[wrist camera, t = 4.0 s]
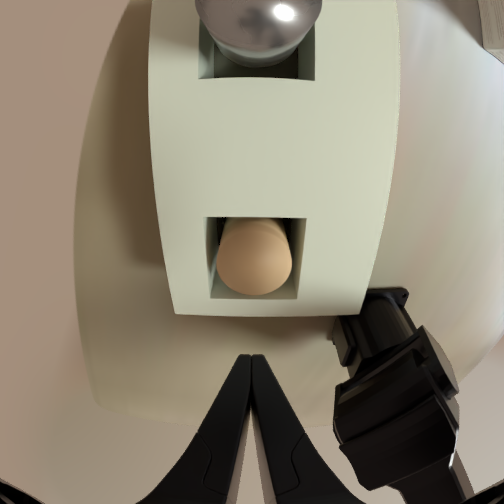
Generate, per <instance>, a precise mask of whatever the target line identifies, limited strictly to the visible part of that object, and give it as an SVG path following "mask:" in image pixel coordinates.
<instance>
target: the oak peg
mask: <svg viewBox="0 0 504 504" xmlns="http://www.w3.org/2000/svg"><path fill="white" fill-rule="evenodd" d="M216 266H217V271H218V274H219V276H220V278H221V279H222V281H223V282H224V283H225V284H226V285H227V286H228V287H229V288H231V289H232V290H234V291H236V292H239V293H242V294H246V295H262V294H267V293H269V292H272V291H274V290H276V289H277V288H279V287H280V286H281V285H282V284H283V283H284V282H285V281H286V280H287V278H288V276H289V274H290V272H291V268H292V259H291V254H290V250H289V245H288V241H287V237H286V233H285V228H284V224H283V221H282V218H280V217H227V218H226V221H225V225H224V229H223V233H222V238H221V242H220V246H219V250H218V255H217V260H216Z"/></svg>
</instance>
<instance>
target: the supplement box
mask: <svg viewBox="0 0 504 504" xmlns="http://www.w3.org/2000/svg"><path fill="white" fill-rule="evenodd" d="M478 5H479V11H480V18H481V27H482V37H483V47H484V49H485V50H486V51H488V52H489V53H491V54H492V55H494V56H495V57H496V58H498V59H499V60H500V61H501V62H502V63H504V0H478Z"/></svg>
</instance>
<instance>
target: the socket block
mask: <svg viewBox="0 0 504 504" xmlns="http://www.w3.org/2000/svg"><path fill="white" fill-rule="evenodd" d="M148 99H149V127H150V144H151V158H152V170H153V180H154V189H155V198H156V207H157V214H158V222H159V229H160V235H161V242H162V248H163V254H164V260H165V266H166V271H167V277H168V282H169V287H170V292H171V297H172V302H173V306H174V311H175V314H186V315H208V316H244V317H295V316H330V315H352V314H359V313H360V310H361V307H362V303H363V300H364V297H365V294H366V290H367V287H368V284H369V280H370V277H371V273H372V269H373V266H374V262H375V258H376V254H377V250H378V246H379V241H380V237H381V233H382V228H383V224H384V219H385V214H386V209H387V203H388V198H389V192H390V186H391V180H392V173H393V166H394V159H395V150H396V141H397V131H398V118H399V101H400V42H399V26H398V15H397V6H396V0H322V8H321V12H320V14H319V17H318V18H317V20H316V21H315V23H314V24H313V26H312V27H311V28H310V30H309V31H308V32H307V34H306V35H305V36H304V38H303V39H302V41H301V42H300V43H299V45H298V79H283V78H257V77H237V78H214V40H213V38H212V36H211V35H210V33H209V31H208V30H207V28H206V26H205V25H204V23H203V22H202V20H201V18H200V17H199V15H198V13H197V10H196V7H195V0H152V8H151V20H150V35H149V61H148ZM217 217H280V218H291V231H290V244H289V250H290V254H291V259H292V268H291V272H290V274H289V276H288V278H287V280H286V281H285V282H284V283H283V284H282V285H281V286H280V287H279V288H277V289H276V290H274V291H272V292H269V293H267V294H262V295H246V294H242V293H239V292H236V291H234V290H232V289H231V288H229V287H228V286H227V285H226V284H225V283H224V282H223V281H222V279H221V278H220V276H219V274H218V271H217V266H216V260H217V255H218V233H217Z"/></svg>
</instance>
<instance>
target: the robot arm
mask: <svg viewBox="0 0 504 504" xmlns="http://www.w3.org/2000/svg"><path fill="white" fill-rule="evenodd" d="M403 294H404V295H403ZM408 296H409V292H408V291H407V290H406V289H389V290H366V294H365V297H364V300H363V303H362V307H361V310H360V313H359V314H352V315H337V317H336V321H335V325H334V328H333V332H332V335H333V338H332V342H333V345H335V346H336V349H337V353H338V357H339V360H340V364H341V366H342V367H347V369H348V373H349V376H350V379H349V380H347V381H345V382H344V383H340V384H338V385H337V386H336V387H335V402H334V415H333V432H334V433H335V436H336V438H337V440H338V442H339V443H340V446H339V449H340V450H341V451H342V452H343V453H344V455H345V456H346V457H347V458H348V460H349V461H350V463H351V465H352V467H353V469H354V471H355V474H356V476H357V479H358V482H359V483H360V485H362V486H363V487H364V488H366V489H367V490H369V491H371V490H374V489H377V488H380V487H383V486H385V485H386V486H388V487H391V488H393V489H396V490H398V491H399V492H400V494H401V496H402V497H403V499H404V501H405V503H406V504H504V479H503V480H501V481H499V482H497V483H495V484H494V485H492V486H490V487H488V488H486V489H484V490H482V491H480V492H478V493H476V494H474V491H473V488H472V486H471V483H470V481H469V478H468V476H467V474H466V471H465V469H464V467H463V464H462V462H461V460H460V458H459V455H458V453H457V451H456V449H455V448H456V443H457V437H458V431H459V405H458V403H457V401H456V399H455V397H454V396H455V395H456V394H458V393H459V388H458V385H457V381H456V378H455V375H454V372H453V369H452V366H451V363H450V361H449V360H448V358H447V356H446V354H445V353H444V351H443V349H442V348H441V346H440V345H439V343H438V342H437V341H436V340H435V339H434V338H433V336H432V335H431V334H430V333H429V332H428V331H427V330H426V328H425V327H424V326H423V325H422V326H420V327H419V328H418V329H416V327H415V325H414V323H413V321H412V320H411V318H410V316H409V315H408V313H407V311H406V310H405V308H404V306H405V303H406V301H407V298H408ZM250 412H251V414H252V422H253V429H254V436H255V442H256V450H257V457H258V462H259V470H260V476H261V483H262V489H263V495H264V502H265V504H366V503H364V502H362V501H361V500H359V499H358V498H357V497H355V496H354V495H353V494H352V493H351V492H350V491H349V490H348V489H347V488H346V487H345V486H344V484H343V483H342V482H341V481H340V480H339V479H338V478H337V476H336V475H335V474H334V473H333V471H332V470H331V469H330V468H329V467H328V465H327V464H326V463H325V461H324V460H323V459H322V458H321V456H320V455H319V454H318V452H317V450H316V449H315V447H314V446H313V444H312V442H311V441H310V439H309V437H308V435H307V434H306V433H305V430H304V429H303V427H302V425H301V423H300V421H299V420H298V418H297V416H296V414H295V412H294V411H293V409H292V407H291V405H290V403H289V401H288V400H287V398H286V396H285V394H284V392H283V390H282V389H281V387H280V385H279V383H278V381H277V379H276V377H275V375H274V373H273V372H272V370H271V368H270V366H269V364H268V362H267V360H266V358H265V356H264V355H262V354H253V355H252V356H251V355H249V354H240V355H239V356H238V358H237V359H236V361H235V363H234V365H233V367H232V369H231V371H230V373H229V374H228V376H227V378H226V380H225V382H224V384H223V386H222V387H221V389H220V391H219V393H218V395H217V397H216V398H215V400H214V402H213V404H212V406H211V408H210V409H209V411H208V413H207V415H206V417H205V418H204V420H203V422H202V424H201V425H200V427H199V429H198V432H197V433H196V434H195V436H194V437H193V439H192V441H191V442H190V444H189V446H188V447H187V449H186V450H185V452H184V453H183V455H182V456H181V457H180V459H179V460H178V461H177V463H176V464H175V465H174V466H173V468H172V469H171V470H170V471H169V472H168V474H167V475H166V476H165V477H164V478H163V479H162V481H161V482H160V483H159V484H158V485H157V487H155V489H154V490H153V491H152V492H150V493H149V494H148V495H147V496H146V497H145V498H143V499H142V500H140V501H139V502H137V503H136V504H236V500H237V494H238V488H239V482H240V477H241V471H242V464H243V458H244V451H245V446H246V439H247V432H248V426H249V419H250ZM0 504H45V503H43V502H42V501H40V500H38V499H37V498H35V497H33V496H31V495H29V494H28V493H26V492H24V491H23V490H21V489H19V488H17V487H15V486H13V485H12V484H9V483H8V482H6V481H4V480H2V479H1V478H0Z"/></svg>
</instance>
